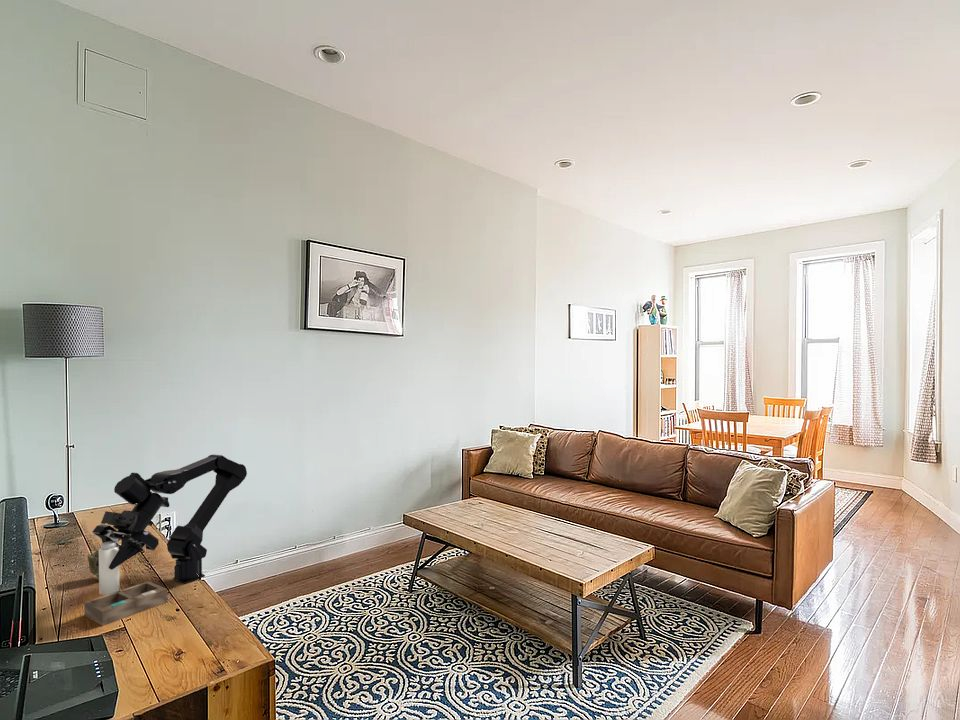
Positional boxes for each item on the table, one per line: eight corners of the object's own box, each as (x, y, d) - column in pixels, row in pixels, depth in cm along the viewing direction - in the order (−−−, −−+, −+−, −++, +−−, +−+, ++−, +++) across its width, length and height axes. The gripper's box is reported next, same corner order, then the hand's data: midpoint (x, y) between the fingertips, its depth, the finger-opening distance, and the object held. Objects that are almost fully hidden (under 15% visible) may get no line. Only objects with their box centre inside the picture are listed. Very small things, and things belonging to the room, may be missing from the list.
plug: (107, 587, 147) (107, 540, 146) (123, 587, 146) (122, 540, 146) (94, 594, 142) (94, 545, 142) (111, 594, 142) (110, 546, 142)
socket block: (148, 593, 156) (148, 580, 156) (167, 601, 151) (167, 588, 151) (84, 615, 143) (84, 601, 143) (102, 625, 138) (102, 611, 137)
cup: (83, 585, 162) (83, 557, 162) (93, 575, 169) (93, 549, 169) (112, 582, 164) (112, 555, 164) (121, 572, 171) (120, 547, 171)
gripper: (98, 494, 151) (55, 548, 141) (147, 500, 144) (106, 557, 134) (126, 515, 158) (88, 568, 148) (174, 522, 152) (137, 577, 141)
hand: (103, 567), depth 143 cm, fingers closed on plug, 4 cm apart
